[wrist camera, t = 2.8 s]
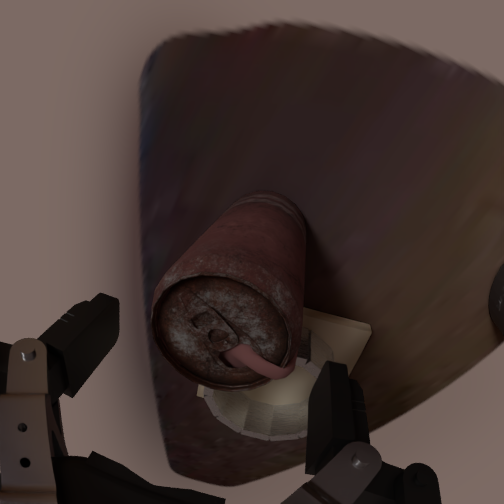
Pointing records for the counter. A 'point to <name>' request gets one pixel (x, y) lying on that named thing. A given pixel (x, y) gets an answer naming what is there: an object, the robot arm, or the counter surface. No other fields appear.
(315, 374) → the collar
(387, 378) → the counter surface
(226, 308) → the can
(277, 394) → the stand
